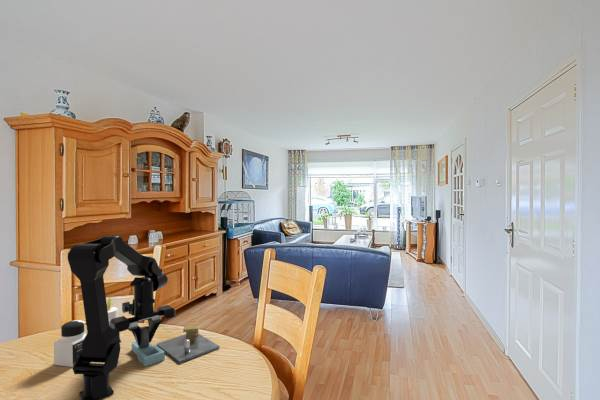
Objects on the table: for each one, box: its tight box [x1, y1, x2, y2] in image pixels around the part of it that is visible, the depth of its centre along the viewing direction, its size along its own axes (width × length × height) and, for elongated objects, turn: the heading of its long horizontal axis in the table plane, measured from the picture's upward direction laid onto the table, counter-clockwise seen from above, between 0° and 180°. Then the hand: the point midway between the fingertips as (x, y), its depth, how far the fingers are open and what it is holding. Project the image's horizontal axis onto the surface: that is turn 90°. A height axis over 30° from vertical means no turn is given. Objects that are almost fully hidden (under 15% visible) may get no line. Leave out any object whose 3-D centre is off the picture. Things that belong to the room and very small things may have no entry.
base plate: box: [156, 322, 220, 365], centre depth 110 cm, size 17×14×5 cm
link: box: [131, 325, 166, 367], centre depth 105 cm, size 14×6×8 cm, turn 46°
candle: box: [106, 297, 119, 325], centre depth 116 cm, size 6×6×15 cm
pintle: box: [185, 339, 190, 353], centre depth 105 cm, size 2×2×5 cm
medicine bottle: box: [53, 319, 87, 368], centre depth 101 cm, size 7×7×12 cm
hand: (144, 343), depth 106 cm, fingers closed on link, 3 cm apart
